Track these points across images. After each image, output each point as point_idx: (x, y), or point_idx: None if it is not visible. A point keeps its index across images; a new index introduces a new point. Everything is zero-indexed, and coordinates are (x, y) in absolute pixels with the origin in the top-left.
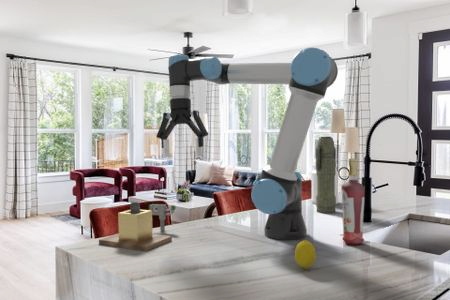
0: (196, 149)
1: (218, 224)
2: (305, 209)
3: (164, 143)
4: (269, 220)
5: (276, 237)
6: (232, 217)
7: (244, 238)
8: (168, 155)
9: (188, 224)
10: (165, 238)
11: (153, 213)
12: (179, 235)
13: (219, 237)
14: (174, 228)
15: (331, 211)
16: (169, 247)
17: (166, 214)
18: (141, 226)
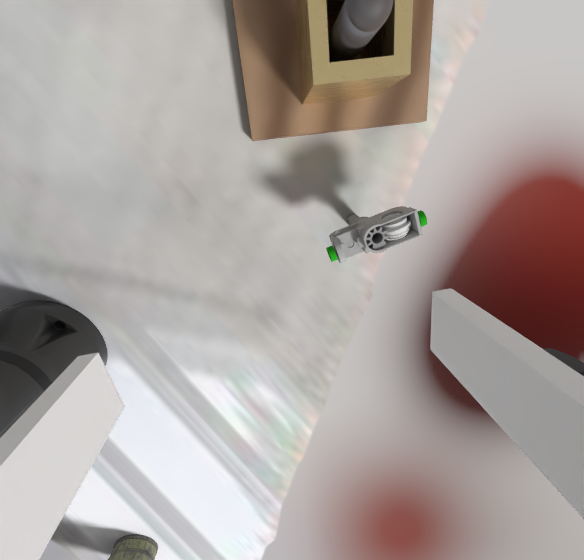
0: (49, 403)
1: (264, 350)
2: (187, 544)
3: (562, 378)
4: (46, 341)
5: (32, 302)
6: (281, 420)
7: (106, 267)
8: (437, 341)
9: (334, 313)
10: (249, 105)
11: (391, 209)
12: (274, 202)
13: (166, 242)
14: None
15: (115, 545)
16: (203, 70)
17: (346, 228)
18: (301, 17)
